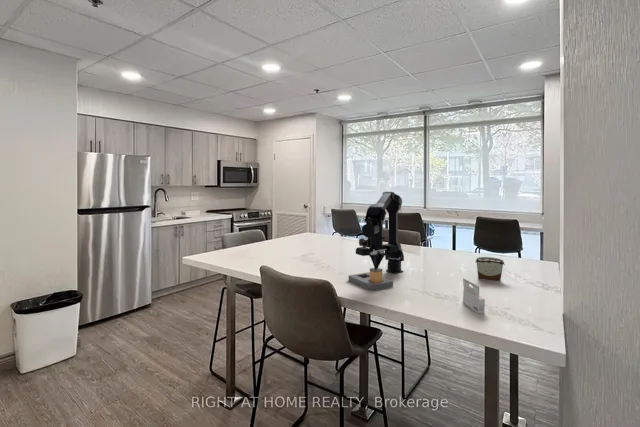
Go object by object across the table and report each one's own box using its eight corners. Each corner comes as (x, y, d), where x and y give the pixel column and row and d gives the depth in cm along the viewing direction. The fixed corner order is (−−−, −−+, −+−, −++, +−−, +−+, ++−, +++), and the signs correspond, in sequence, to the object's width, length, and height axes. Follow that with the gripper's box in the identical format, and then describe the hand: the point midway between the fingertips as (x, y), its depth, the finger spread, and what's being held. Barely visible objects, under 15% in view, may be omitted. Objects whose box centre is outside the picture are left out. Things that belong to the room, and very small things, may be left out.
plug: (376, 284, 151) (376, 267, 151) (382, 286, 148) (382, 269, 147) (369, 285, 149) (369, 268, 149) (375, 288, 146) (375, 270, 145)
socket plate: (368, 277, 163) (368, 272, 163) (392, 286, 147) (393, 281, 147) (348, 280, 158) (348, 275, 157) (371, 291, 142) (371, 285, 142)
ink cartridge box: (468, 302, 127) (469, 277, 126) (484, 313, 116) (485, 286, 115) (462, 302, 127) (462, 277, 126) (478, 313, 116) (479, 286, 115)
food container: (502, 278, 158) (503, 258, 158) (504, 282, 153) (504, 260, 152) (474, 275, 164) (475, 256, 163) (474, 279, 158) (475, 258, 157)
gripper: (381, 230, 158) (381, 262, 159) (348, 233, 149) (348, 267, 151) (397, 233, 148) (396, 267, 150) (363, 236, 140) (363, 273, 141)
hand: (376, 268), depth 148 cm, fingers closed
